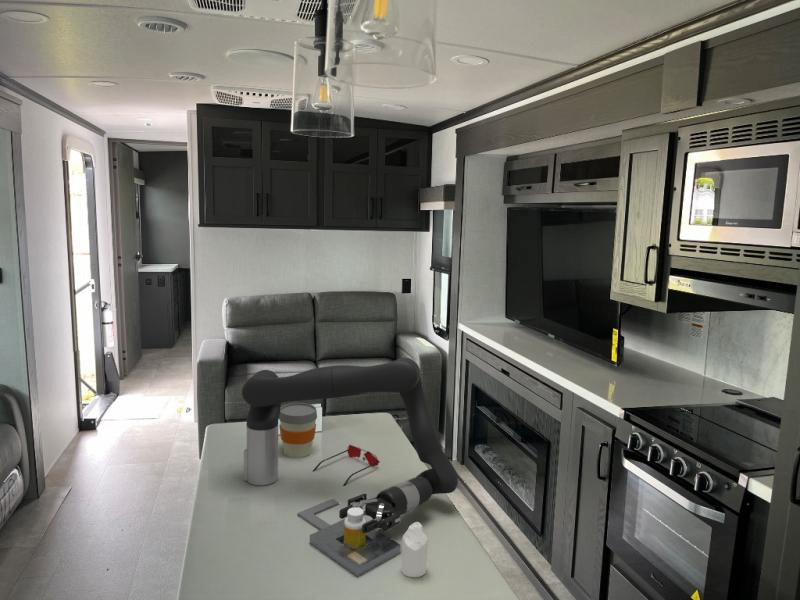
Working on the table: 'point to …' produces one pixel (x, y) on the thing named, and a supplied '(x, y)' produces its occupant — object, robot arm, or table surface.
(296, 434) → the reusable coffee cup
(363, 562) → the socket block
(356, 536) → the supplement bottle
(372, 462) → the glasses
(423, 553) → the white plastic bottle
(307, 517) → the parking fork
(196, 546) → the table surface
